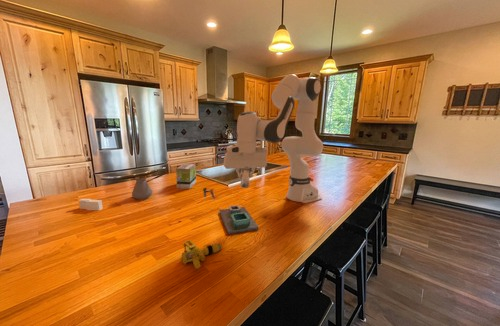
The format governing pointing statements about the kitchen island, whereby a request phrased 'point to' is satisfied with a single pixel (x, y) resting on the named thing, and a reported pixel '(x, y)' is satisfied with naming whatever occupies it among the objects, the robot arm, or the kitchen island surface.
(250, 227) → the manifold plate
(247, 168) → the fitting
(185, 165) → the tea box
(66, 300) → the kitchen island surface
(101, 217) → the kitchen island surface
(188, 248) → the sprinkler
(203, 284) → the kitchen island surface
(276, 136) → the robot arm
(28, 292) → the kitchen island surface
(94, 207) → the white rectangular block
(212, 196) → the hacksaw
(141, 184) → the coffee pot
